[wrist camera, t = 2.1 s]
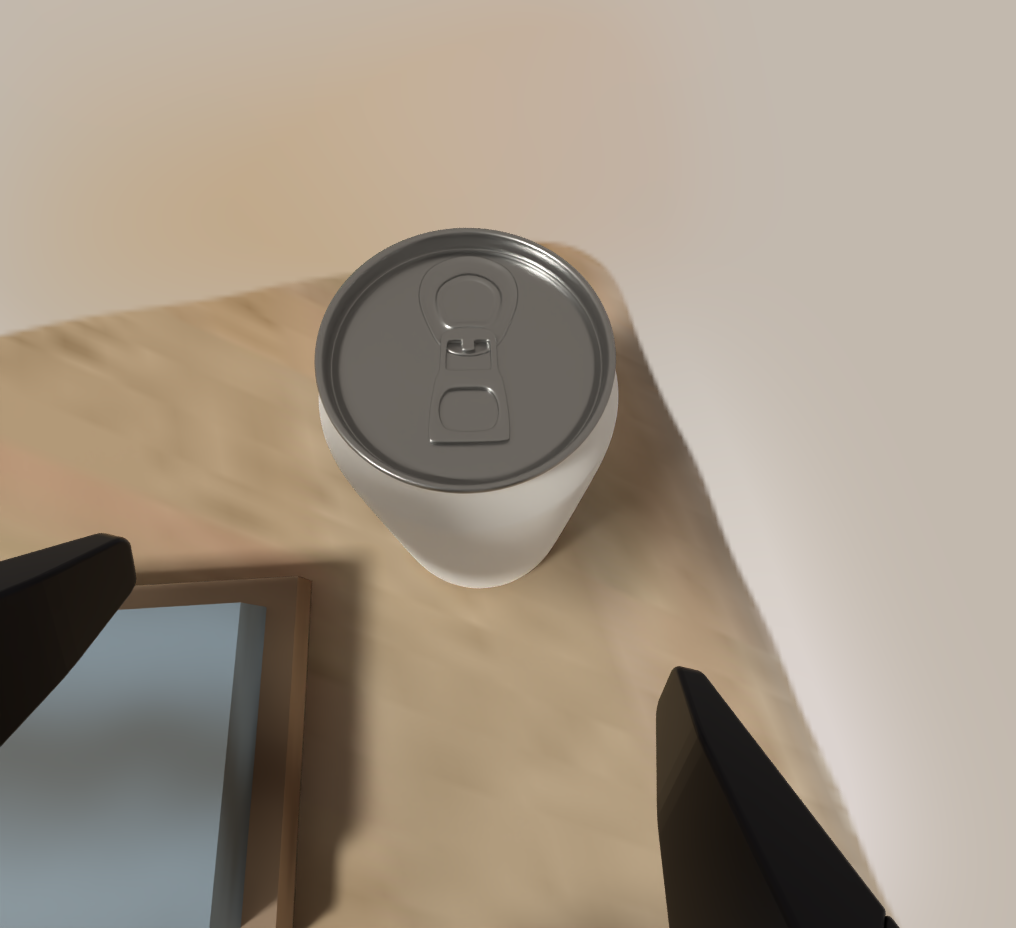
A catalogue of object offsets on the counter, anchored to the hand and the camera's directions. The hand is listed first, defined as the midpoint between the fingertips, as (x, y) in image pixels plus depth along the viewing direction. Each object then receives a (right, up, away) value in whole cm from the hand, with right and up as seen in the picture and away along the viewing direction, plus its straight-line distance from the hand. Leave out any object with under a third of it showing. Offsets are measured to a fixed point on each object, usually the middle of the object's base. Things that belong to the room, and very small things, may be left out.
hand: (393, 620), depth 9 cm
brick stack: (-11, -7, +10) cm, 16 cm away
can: (+1, +1, +13) cm, 13 cm away
